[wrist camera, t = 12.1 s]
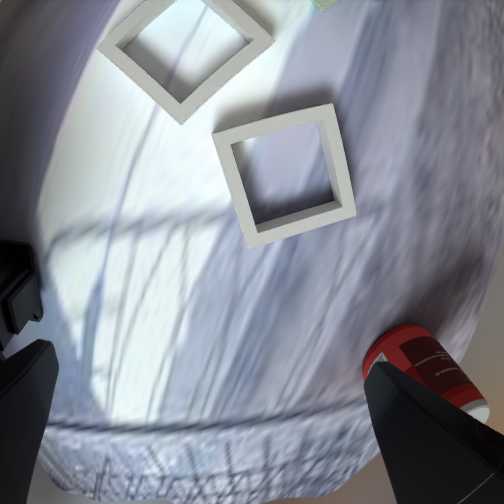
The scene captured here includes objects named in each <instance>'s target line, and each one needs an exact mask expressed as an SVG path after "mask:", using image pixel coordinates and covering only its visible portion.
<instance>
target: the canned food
mask: <svg viewBox="0 0 504 504" xmlns="http://www.w3.org/2000/svg"><path fill="white" fill-rule="evenodd" d="M377 361H388V362H390V363H391V364H393V365H394V366H396V367H397V368H399V369H400V370H402V371H403V372H405V373H407V374H408V375H410V376H411V377H413V378H414V379H416V380H417V381H419V382H420V383H422V384H423V385H425V386H426V387H428V388H429V389H431V390H432V391H434V392H436V393H437V394H439V395H440V396H442V397H443V398H445V399H446V400H448V401H449V402H451V403H452V404H454V405H456V406H457V407H459V408H460V409H462V410H463V411H465V412H466V413H468V414H470V415H471V416H473V418H476V419H477V420H479V421H480V422H482V423H484V424H485V422H486V420H487V418H488V417H489V414H490V406H489V405H488V403H487V401H486V400H485V399H484V397H483V396H482V395H481V393H480V392H479V390H478V389H477V388H476V387H475V385H474V384H473V383H472V382H471V381H470V379H469V378H468V377H467V375H466V374H465V373H464V372H463V371H462V370H461V368H460V367H459V366H458V365H457V363H456V362H455V361H454V360H453V359H452V357H451V356H450V355H449V354H448V353H447V352H446V350H445V349H444V348H443V347H442V346H441V345H440V343H439V342H438V341H437V340H436V339H435V338H434V337H433V335H432V334H431V333H430V332H429V331H428V330H427V329H425V328H423V327H421V326H419V325H416V324H405V325H401V326H398V327H396V328H394V329H392V330H390V331H388V332H387V333H386V334H384V335H383V336H382V337H380V338H379V339H378V340H377V341H376V342H375V343H374V344H373V346H372V347H371V348H370V350H369V351H368V353H367V354H366V356H365V359H364V361H363V366H362V373H363V379H364V382H365V379H366V377H367V375H368V373H369V371H370V369H371V367H372V365H373V364H374V363H375V362H377Z"/></svg>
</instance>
